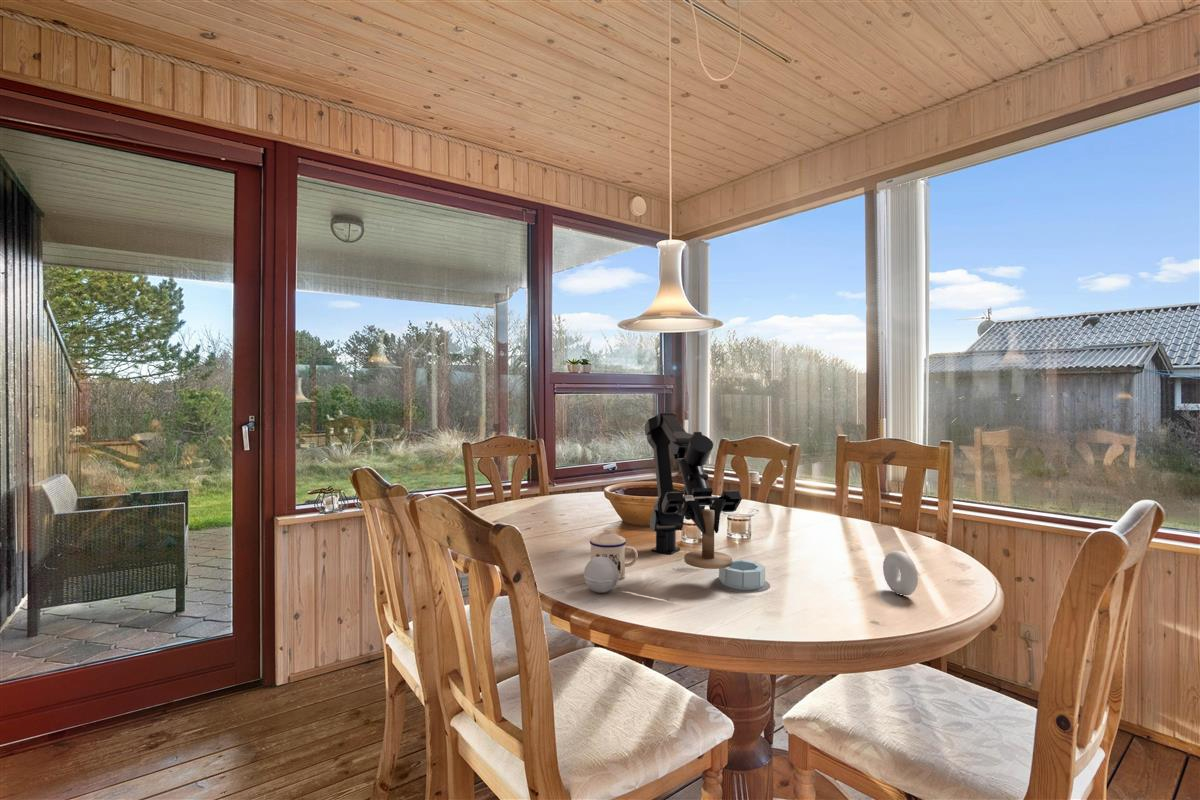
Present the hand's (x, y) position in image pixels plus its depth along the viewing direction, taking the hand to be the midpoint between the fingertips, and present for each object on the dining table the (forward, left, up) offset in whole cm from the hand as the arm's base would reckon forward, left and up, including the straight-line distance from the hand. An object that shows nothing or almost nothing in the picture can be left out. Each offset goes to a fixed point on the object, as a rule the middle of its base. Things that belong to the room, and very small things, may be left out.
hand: (710, 532), depth 131 cm
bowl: (-8, +5, -13) cm, 16 cm away
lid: (-1, -1, -7) cm, 7 cm away
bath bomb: (+15, -20, -14) cm, 29 cm away
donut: (-22, +37, -14) cm, 45 cm away
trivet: (-8, +5, -13) cm, 16 cm away
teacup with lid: (+3, -24, -14) cm, 28 cm away
